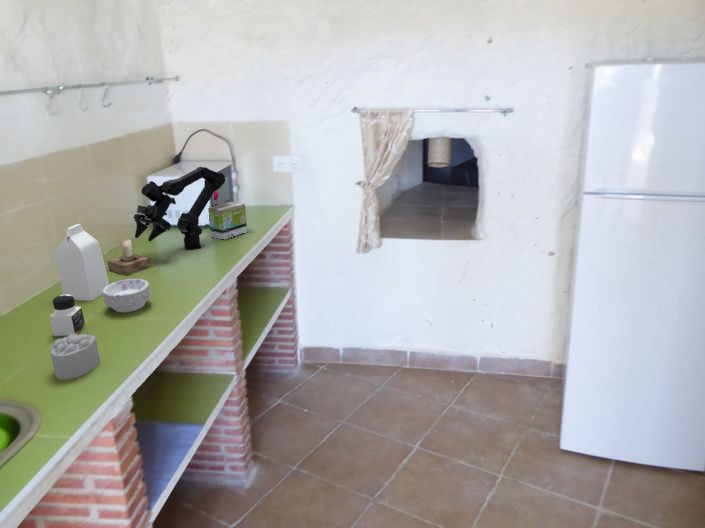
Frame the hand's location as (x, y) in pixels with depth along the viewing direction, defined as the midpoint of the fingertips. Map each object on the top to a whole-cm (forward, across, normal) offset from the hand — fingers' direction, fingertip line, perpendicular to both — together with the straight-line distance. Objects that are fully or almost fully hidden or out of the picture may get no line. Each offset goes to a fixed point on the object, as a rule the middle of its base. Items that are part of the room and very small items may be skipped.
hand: (142, 239), depth 250 cm
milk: (+31, +10, -16) cm, 36 cm away
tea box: (-25, 0, +41) cm, 48 cm away
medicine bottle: (+46, +36, -31) cm, 66 cm away
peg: (+13, 0, +2) cm, 13 cm away
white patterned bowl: (+30, +36, -15) cm, 49 cm away
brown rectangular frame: (+13, 0, +2) cm, 13 cm away
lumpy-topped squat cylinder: (+54, +61, -39) cm, 90 cm away
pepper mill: (-31, -19, +47) cm, 59 cm away
